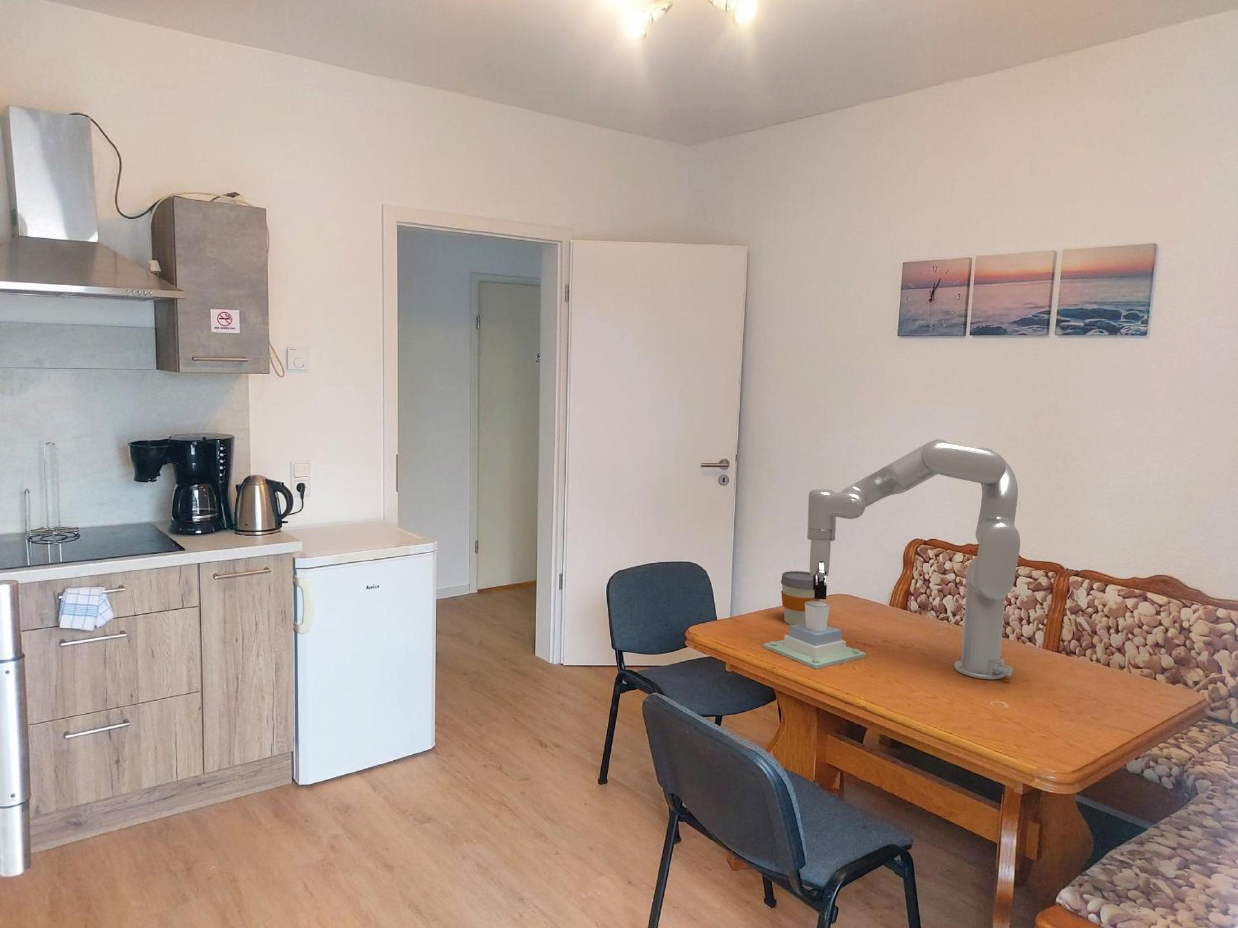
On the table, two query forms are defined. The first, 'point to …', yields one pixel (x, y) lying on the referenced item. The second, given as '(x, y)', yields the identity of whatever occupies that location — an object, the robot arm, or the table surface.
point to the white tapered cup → (816, 615)
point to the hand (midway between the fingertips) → (819, 594)
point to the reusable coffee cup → (796, 595)
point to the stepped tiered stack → (814, 647)
